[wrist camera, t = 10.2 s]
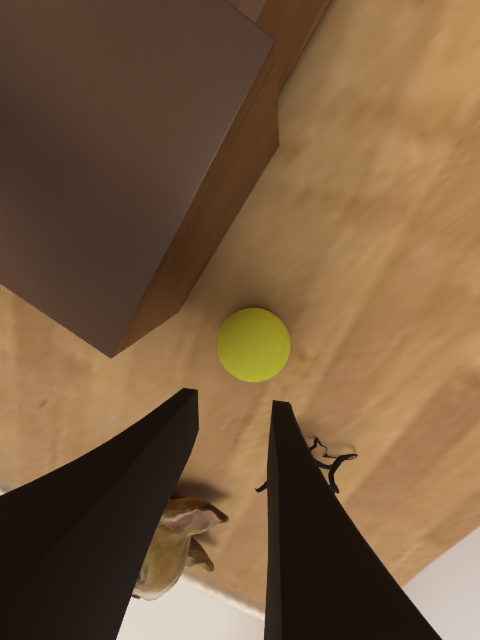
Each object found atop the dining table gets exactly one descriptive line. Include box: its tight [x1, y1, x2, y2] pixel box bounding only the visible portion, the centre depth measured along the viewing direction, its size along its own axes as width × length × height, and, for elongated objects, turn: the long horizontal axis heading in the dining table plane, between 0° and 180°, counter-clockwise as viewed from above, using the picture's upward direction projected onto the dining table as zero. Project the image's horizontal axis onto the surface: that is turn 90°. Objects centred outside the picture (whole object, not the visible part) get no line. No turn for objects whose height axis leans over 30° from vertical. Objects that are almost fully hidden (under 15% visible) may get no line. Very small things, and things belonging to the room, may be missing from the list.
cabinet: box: [0, 0, 279, 358], centre depth 12 cm, size 13×11×8 cm
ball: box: [217, 308, 291, 382], centre depth 16 cm, size 5×5×5 cm
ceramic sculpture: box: [131, 496, 229, 601], centre depth 23 cm, size 11×9×15 cm
